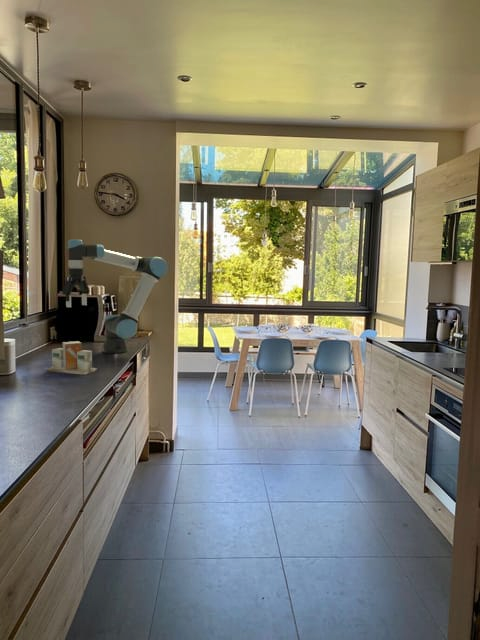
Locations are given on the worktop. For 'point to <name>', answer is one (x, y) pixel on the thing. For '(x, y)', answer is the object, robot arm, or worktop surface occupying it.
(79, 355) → the cream u-shaped bracket
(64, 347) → the small box
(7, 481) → the worktop surface
